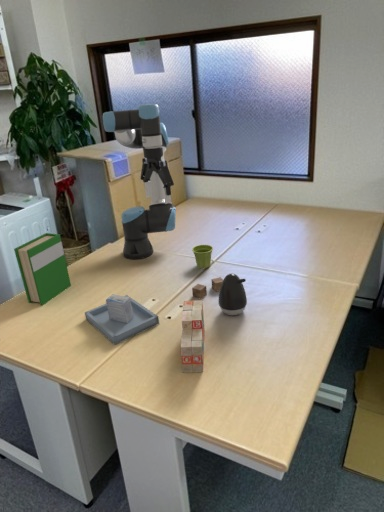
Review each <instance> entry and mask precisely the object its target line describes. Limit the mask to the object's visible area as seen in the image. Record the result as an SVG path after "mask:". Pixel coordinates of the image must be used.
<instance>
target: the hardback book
mask: <svg viewBox="0 0 384 512" xmlns="http://www.w3.org/2000/svg"><path fill="white" fill-rule="evenodd" d="M13 250H14V254H15V257H16V262H17V265H18V268H19V272H20V276H21V280H22V283H23V284H22V285H23V287H24V291H25V294H26V298H27V302H28V304H31V303H34V302H35V303H39V304H40V306H42V307H43V306H44V305H45V304H47V303H48V302H50V301H51V300H53V299H54V298H56V297H57V296H59V295H60V294H61V293H62V292H63V293H64V291H66V290H67V289H69V288H70V287H72V284H71V279H70V278H71V277H70V275H69V270H68V269H69V268H68V266H67V265H68V264H67V260H66V256H65V252H64V247H63V242H62V238H61V234H57V233H49V232H45V233H44V234H42V235H39V236H38V237H35V238H33V239H31V240H29V241H28V242H25V243H23V244H21V245H19V246H17V247H15V248H13ZM65 289H66V290H65ZM52 298H53V299H52Z"/></svg>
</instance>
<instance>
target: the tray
mask: <svg viewBox="0 0 384 512" xmlns="http://www.w3.org/2000/svg"><path fill="white" fill-rule="evenodd" d="M124 296H125V297H130V299H131V305H132V311H133V316H134V317H133V318H132V319H131V320H130V321H129V322H128V323H123V322H118V321H113V320H110V319H109V314H108V309H107V304H106V303H104V304H101V305H99V306H97V307H94V308H92V309H89V310H87V311H85V312H84V316H85V320H86V321H87V322H88V323H89V324H91V325H92V327H94V328H95V329H96V330H97V331H98V332H100V333H101V334H102V335H103V336H104V337H105V338H106V339H107V340H109V341H110V342H111V343H112V344H113V345H118V344H120V343H122V342H124V341H125V340H129V338H131V337H134V336H136V335H139V334H140V333H142V332H145V331H146V330H149V329H150V328H153V327H155V326H157V325H159V324H160V317H159V316H158V315H157V314H155V313H154V312H152V311H151V310H150V309H148V308H147V307H146V306H144V305H142V304H141V303H140V302H138V301H137V300H135V299H133V298H132V297H131V296H129V295H128V294H126V295H124Z"/></svg>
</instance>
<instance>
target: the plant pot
mask: <svg viewBox="0 0 384 512" xmlns="http://www.w3.org/2000/svg"><path fill="white" fill-rule="evenodd" d="M213 249H214V247H213V246H212V245H210V244H198V245H195V246H193V247H192V249H191V251H192V252H193V255H194V258H195V263H196V267H198V268H199V269H207V268H209V267H211V260H212V254H213Z"/></svg>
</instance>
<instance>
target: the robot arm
mask: <svg viewBox="0 0 384 512" xmlns="http://www.w3.org/2000/svg"><path fill="white" fill-rule="evenodd" d="M102 123H103V129H104V131H105V132H108V133H114V136H115V137H114V138H115V140H116V141H117V143H118V144H119V145H121V146H123V147H126V148H128V149H135V150H137V149H142V152H143V157H144V158H142V159H141V160H142V161H141V162H142V166H141V172H140V181H142V182H143V183H144V185H143V186H144V189H145V190H144V191H145V197H146V199H149V198H150V199H151V202H150V203H149V205H148V209H146V208H145V206H133V207H130V208H127V209H125V210H124V211H122V213H121V224H122V231H123V237H124V238H123V239H124V244H123V250H122V253H123V255H122V256H123V257H124V258H126V259H129V260H139V259H140V260H141V259H145V258H147V257H151V255H153V253H154V247H153V245H152V243H151V241H150V238H149V235H148V234H153V233H164V232H165V233H167V232H172V231H174V230H175V229H176V214H177V213H176V209H177V208H176V207H175V206H173V203H172V191H171V190H172V189H171V187H172V186H174V185H175V183H174V180H173V178H172V175H171V172H170V170H169V167H168V162H167V160H165V152H166V151H167V147H169V146H170V144H169V143H170V142H169V138H168V132H167V128H166V125H165V124H164V123H163V122H161V119H160V109H159V105H158V104H156V103H147V104H146V103H145V104H140V105H139V106H138V109H137V108H136V109H129V110H128V109H127V110H115V111H114V110H113V111H112V110H111V111H105V112H103V113H102Z"/></svg>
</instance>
